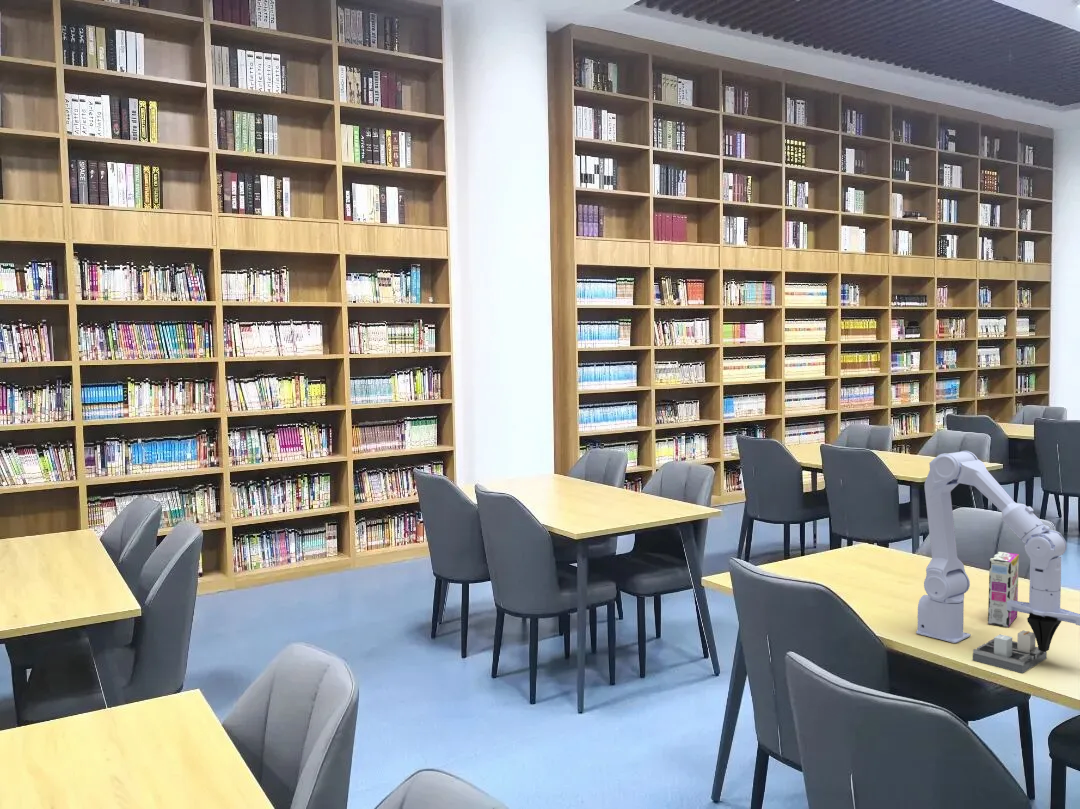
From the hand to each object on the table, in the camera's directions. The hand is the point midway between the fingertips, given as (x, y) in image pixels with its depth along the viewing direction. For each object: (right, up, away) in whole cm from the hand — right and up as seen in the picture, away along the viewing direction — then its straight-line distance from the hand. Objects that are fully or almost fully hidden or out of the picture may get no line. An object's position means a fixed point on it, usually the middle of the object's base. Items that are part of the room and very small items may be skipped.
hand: (1043, 650), depth 177 cm
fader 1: (-9, -1, 0) cm, 9 cm away
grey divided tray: (-6, -3, +3) cm, 7 cm away
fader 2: (-2, -1, +3) cm, 4 cm away
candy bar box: (+8, -2, +29) cm, 30 cm away
